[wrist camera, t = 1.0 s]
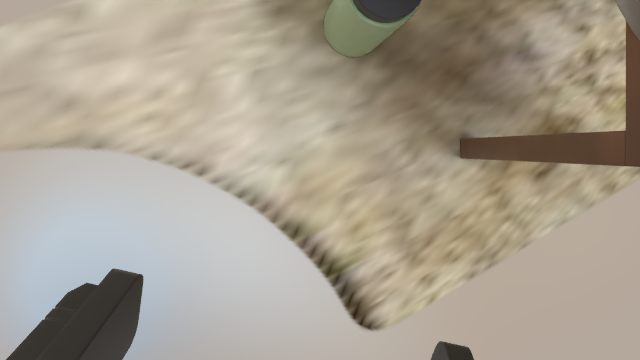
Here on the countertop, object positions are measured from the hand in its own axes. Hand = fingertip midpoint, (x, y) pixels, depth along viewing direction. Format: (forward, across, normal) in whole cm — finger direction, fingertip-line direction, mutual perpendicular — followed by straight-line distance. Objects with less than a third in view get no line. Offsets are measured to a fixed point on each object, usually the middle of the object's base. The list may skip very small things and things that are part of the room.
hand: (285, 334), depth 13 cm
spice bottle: (+27, -1, -7) cm, 28 cm away
